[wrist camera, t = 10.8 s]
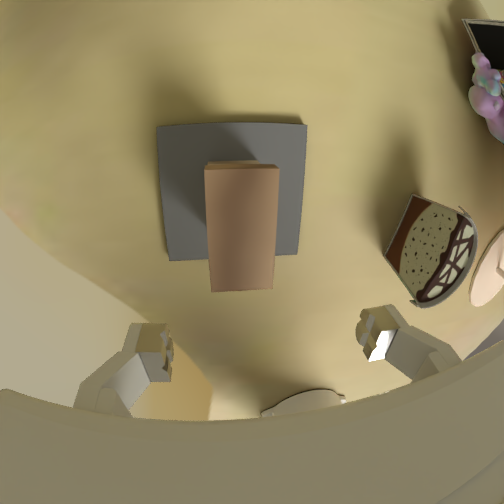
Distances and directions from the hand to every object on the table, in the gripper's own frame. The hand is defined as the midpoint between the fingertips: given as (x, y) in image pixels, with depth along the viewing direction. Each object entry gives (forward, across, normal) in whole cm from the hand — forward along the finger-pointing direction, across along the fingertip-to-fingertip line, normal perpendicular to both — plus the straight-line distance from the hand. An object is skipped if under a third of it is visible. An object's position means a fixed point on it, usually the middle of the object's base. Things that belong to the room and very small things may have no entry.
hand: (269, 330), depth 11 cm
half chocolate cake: (+19, -24, +4) cm, 31 cm away
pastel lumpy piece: (+19, -37, -20) cm, 46 cm away
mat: (+19, 0, -1) cm, 19 cm away
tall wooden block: (+18, 0, 0) cm, 18 cm away
